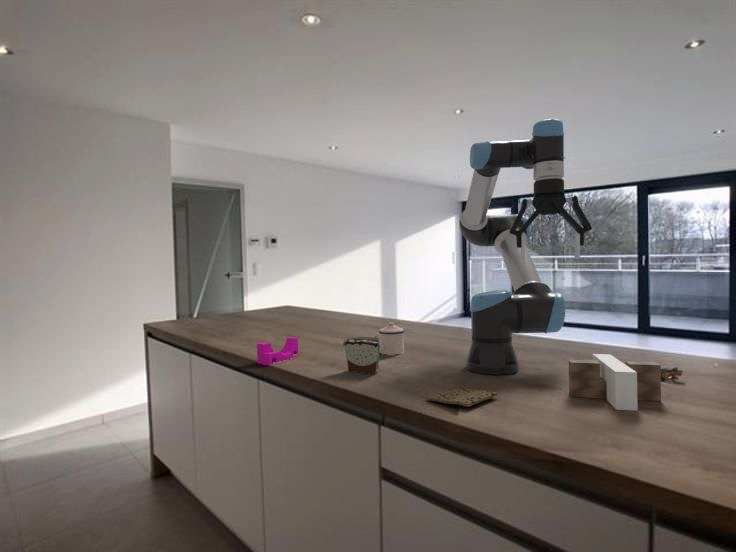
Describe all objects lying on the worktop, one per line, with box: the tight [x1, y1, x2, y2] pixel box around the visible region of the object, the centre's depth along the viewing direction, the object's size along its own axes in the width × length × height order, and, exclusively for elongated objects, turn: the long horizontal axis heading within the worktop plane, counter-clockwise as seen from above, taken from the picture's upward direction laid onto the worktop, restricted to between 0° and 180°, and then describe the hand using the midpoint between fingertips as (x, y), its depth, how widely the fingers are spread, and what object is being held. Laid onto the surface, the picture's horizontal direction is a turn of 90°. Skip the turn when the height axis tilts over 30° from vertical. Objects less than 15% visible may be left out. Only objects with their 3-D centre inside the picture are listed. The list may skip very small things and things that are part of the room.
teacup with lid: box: [373, 321, 405, 356], centre depth 149 cm, size 12×9×12 cm
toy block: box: [256, 336, 299, 366], centre depth 142 cm, size 15×6×8 cm, turn 143°
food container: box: [342, 336, 382, 375], centre depth 126 cm, size 12×6×10 cm, turn 65°
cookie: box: [426, 387, 498, 408], centre depth 97 cm, size 12×12×2 cm
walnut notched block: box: [568, 359, 662, 402], centre depth 95 cm, size 18×3×8 cm, turn 75°
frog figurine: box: [660, 366, 684, 385], centre depth 110 cm, size 12×12×4 cm
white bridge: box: [592, 353, 638, 412], centre depth 95 cm, size 18×4×8 cm, turn 165°
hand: (549, 259), depth 112 cm, fingers open, 13 cm apart
